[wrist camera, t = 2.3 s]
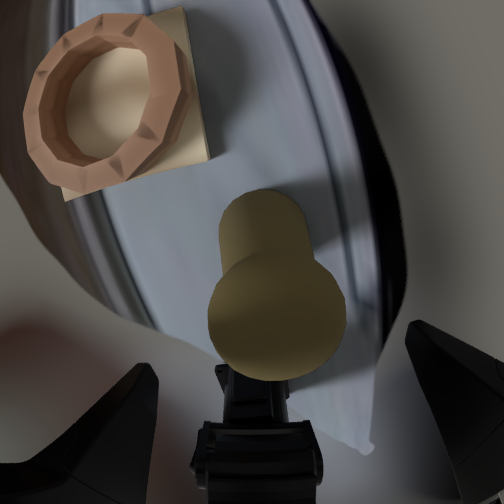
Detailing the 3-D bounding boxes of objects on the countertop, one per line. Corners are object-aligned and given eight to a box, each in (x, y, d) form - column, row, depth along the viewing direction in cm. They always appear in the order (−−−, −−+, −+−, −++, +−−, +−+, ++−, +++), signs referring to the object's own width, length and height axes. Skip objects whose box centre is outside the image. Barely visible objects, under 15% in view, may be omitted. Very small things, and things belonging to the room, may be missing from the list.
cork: (228, 180, 17) (201, 248, 7) (317, 201, 18) (399, 287, 8) (211, 263, 19) (183, 390, 9) (293, 279, 20) (328, 404, 10)
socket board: (210, 159, 16) (199, 166, 12) (73, 197, 17) (40, 214, 13) (185, 12, 12) (170, -15, 8) (53, 69, 12) (19, 63, 9)
